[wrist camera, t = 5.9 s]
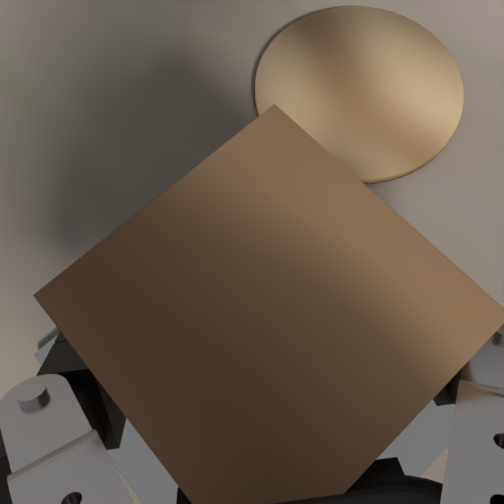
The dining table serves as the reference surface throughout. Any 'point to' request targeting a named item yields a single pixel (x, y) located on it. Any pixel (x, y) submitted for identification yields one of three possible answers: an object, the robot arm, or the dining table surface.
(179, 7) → the dining table surface
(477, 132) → the dining table surface
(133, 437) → the blue-gray tile
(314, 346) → the walnut block
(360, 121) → the coaster
